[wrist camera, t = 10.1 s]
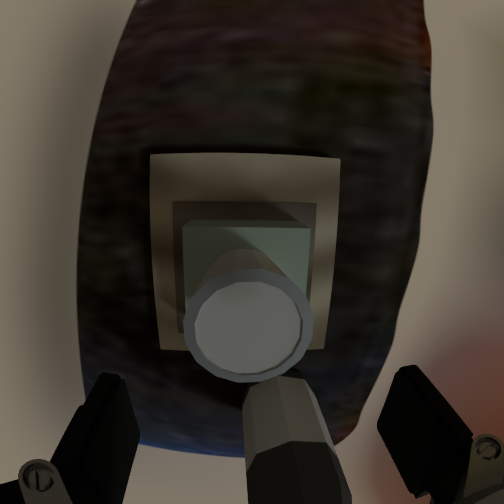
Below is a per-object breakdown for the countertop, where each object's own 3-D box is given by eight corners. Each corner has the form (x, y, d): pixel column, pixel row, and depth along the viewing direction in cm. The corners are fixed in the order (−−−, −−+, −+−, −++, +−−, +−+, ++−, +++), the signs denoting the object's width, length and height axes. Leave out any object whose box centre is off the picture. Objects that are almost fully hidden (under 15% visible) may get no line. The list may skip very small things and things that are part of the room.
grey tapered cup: (279, 333, 23) (296, 389, 16) (191, 320, 22) (177, 374, 15) (300, 248, 21) (330, 280, 15) (204, 232, 21) (190, 257, 14)
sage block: (190, 219, 24) (182, 226, 20) (298, 221, 25) (310, 228, 21) (193, 319, 26) (187, 341, 23) (292, 319, 27) (301, 340, 23)
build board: (154, 156, 24) (149, 154, 23) (334, 160, 25) (340, 158, 24) (163, 341, 29) (160, 349, 27) (319, 341, 30) (323, 349, 28)
